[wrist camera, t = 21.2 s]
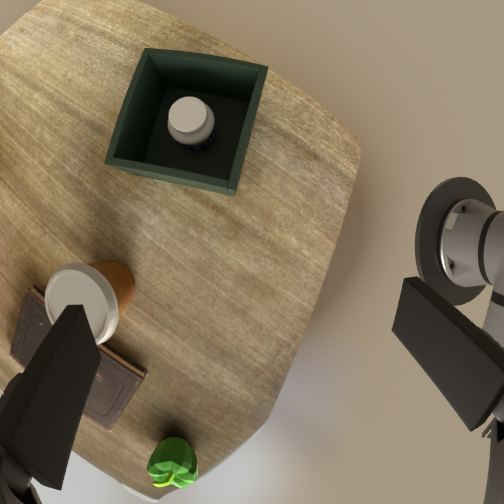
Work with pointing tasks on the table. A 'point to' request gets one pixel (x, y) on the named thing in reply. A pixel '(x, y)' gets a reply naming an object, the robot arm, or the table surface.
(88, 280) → the disposable coffee cup
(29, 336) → the hardcover book
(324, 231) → the table surface
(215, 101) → the waste bin
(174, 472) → the bell pepper
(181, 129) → the pill bottle
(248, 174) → the table surface
